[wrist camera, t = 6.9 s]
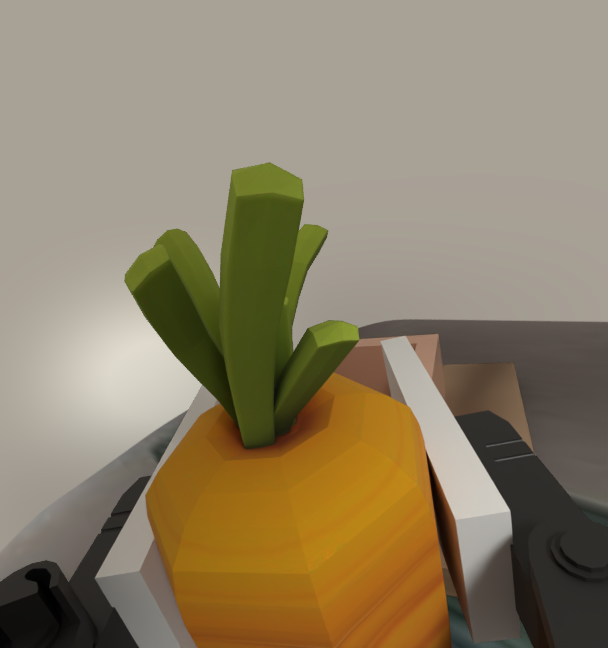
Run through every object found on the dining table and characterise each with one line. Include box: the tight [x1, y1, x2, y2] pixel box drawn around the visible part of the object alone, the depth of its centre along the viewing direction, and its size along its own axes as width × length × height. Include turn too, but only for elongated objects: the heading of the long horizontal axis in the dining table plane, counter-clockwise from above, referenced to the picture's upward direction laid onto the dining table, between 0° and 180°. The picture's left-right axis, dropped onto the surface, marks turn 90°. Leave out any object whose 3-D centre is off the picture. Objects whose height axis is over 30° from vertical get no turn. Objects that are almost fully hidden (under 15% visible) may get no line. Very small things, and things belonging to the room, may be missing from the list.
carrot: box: [125, 163, 452, 648], centre depth 7 cm, size 5×5×15 cm
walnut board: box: [438, 362, 534, 597], centre depth 24 cm, size 18×16×2 cm
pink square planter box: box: [333, 334, 446, 401], centre depth 23 cm, size 10×9×4 cm
